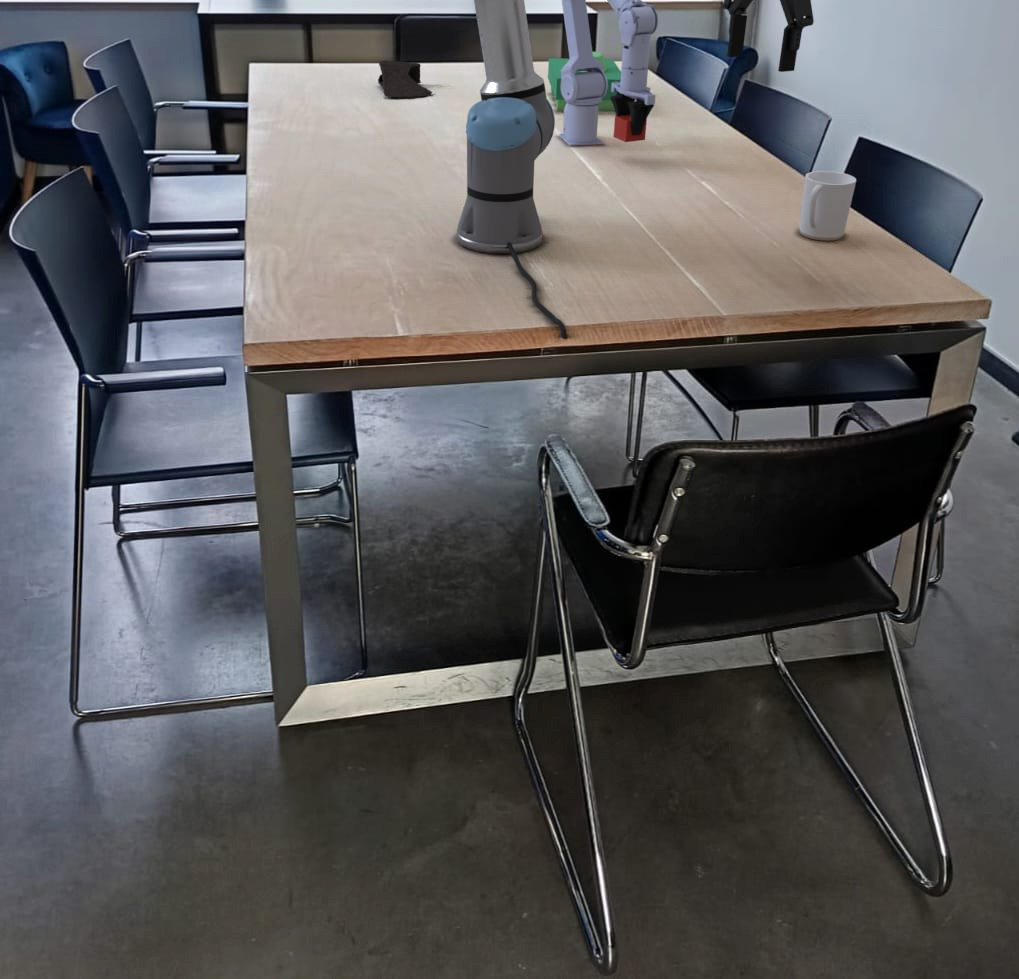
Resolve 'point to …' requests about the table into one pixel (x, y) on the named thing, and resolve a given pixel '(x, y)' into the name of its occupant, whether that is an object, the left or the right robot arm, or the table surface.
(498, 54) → the left robot arm
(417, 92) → the axe head
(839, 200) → the mug
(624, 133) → the block
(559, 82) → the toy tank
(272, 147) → the table surface
